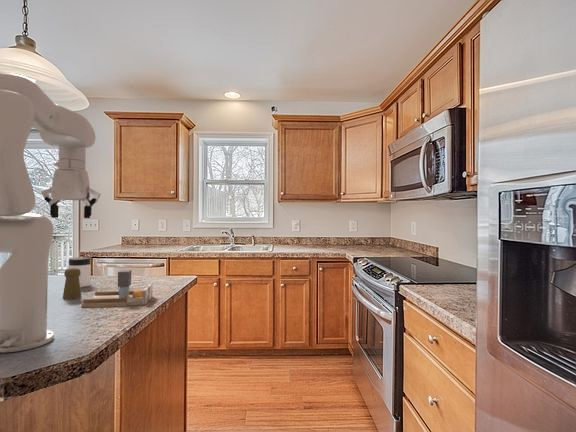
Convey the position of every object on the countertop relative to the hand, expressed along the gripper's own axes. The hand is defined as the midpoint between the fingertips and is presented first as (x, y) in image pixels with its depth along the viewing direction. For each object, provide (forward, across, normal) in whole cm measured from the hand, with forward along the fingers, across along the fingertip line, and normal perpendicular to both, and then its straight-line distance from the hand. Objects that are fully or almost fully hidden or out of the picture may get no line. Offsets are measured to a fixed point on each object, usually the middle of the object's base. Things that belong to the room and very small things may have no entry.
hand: (71, 217), depth 110 cm
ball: (+28, +19, +9) cm, 35 cm away
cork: (+31, -6, +17) cm, 35 cm away
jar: (+31, -12, +39) cm, 51 cm away
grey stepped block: (+29, +15, +9) cm, 33 cm away
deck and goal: (+30, +14, +9) cm, 35 cm away
